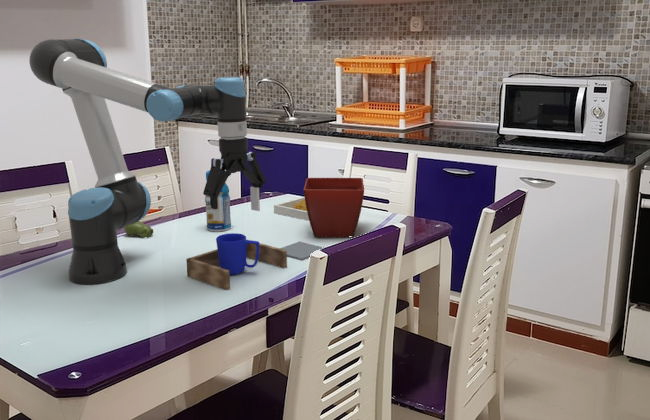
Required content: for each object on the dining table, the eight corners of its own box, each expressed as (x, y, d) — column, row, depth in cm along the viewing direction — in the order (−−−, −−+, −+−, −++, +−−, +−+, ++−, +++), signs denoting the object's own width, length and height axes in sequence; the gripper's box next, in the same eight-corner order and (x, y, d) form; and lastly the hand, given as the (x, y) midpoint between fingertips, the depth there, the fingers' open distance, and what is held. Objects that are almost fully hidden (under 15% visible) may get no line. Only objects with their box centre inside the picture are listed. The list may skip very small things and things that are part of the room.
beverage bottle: (235, 229, 224) (233, 171, 219) (213, 233, 219) (209, 174, 214) (224, 224, 231) (221, 167, 226) (202, 228, 226) (199, 170, 221)
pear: (131, 216, 221) (157, 223, 218) (130, 231, 223) (156, 238, 220) (121, 220, 216) (147, 227, 213) (120, 235, 217) (146, 243, 215)
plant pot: (362, 224, 228) (362, 176, 223) (364, 241, 209) (364, 189, 205) (307, 224, 228) (306, 177, 224) (304, 241, 210) (303, 189, 206)
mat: (272, 252, 199) (272, 250, 199) (299, 243, 208) (299, 241, 208) (301, 260, 191) (301, 258, 191) (328, 250, 200) (328, 248, 200)
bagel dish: (274, 213, 244) (273, 205, 244) (304, 204, 257) (304, 196, 256) (310, 221, 233) (309, 212, 232) (340, 211, 245) (340, 203, 245)
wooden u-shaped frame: (187, 276, 180) (186, 258, 179) (247, 255, 196) (247, 239, 195) (226, 289, 170) (225, 271, 168) (287, 267, 186) (286, 250, 185)
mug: (255, 278, 178) (254, 243, 175) (213, 276, 180) (211, 241, 177) (264, 268, 185) (263, 234, 183) (224, 266, 188) (222, 232, 185)
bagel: (290, 210, 249) (290, 197, 248) (319, 208, 250) (319, 196, 249) (292, 216, 240) (291, 204, 238) (322, 215, 241) (322, 203, 240)
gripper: (204, 144, 162) (210, 227, 167) (276, 132, 180) (279, 207, 185) (185, 142, 166) (191, 222, 172) (257, 130, 185) (260, 204, 190)
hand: (237, 215), depth 178 cm, fingers open, 13 cm apart
